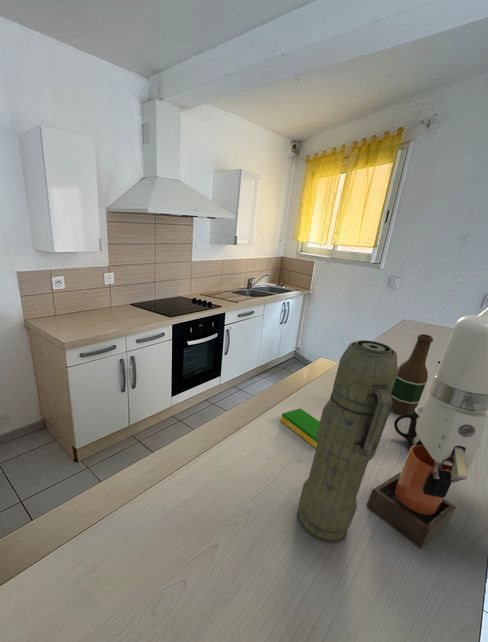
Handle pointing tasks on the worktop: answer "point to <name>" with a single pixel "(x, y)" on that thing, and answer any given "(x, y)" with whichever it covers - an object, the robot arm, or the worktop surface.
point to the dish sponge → (302, 425)
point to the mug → (412, 426)
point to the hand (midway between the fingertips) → (424, 478)
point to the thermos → (347, 438)
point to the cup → (418, 481)
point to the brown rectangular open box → (407, 514)
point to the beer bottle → (411, 378)
